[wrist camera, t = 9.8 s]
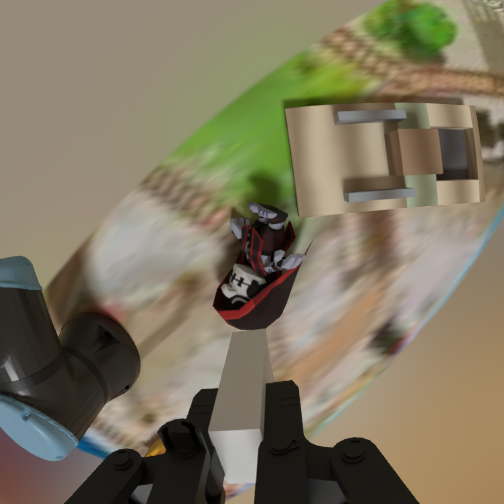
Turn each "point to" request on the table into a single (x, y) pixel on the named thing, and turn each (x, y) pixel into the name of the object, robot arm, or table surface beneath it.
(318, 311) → the table surface
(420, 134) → the block
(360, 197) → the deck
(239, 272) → the toy
